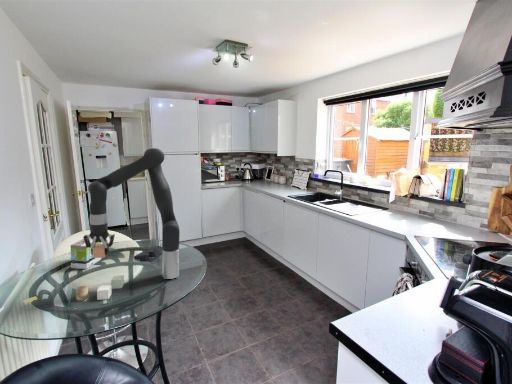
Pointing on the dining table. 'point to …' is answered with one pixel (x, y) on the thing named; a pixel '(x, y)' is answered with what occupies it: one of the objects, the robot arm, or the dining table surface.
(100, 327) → the dining table surface
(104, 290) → the cream block
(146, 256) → the dark slate chunk
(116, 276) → the sage block
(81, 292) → the maple cylinder
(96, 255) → the terracotta block
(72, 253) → the tea box
